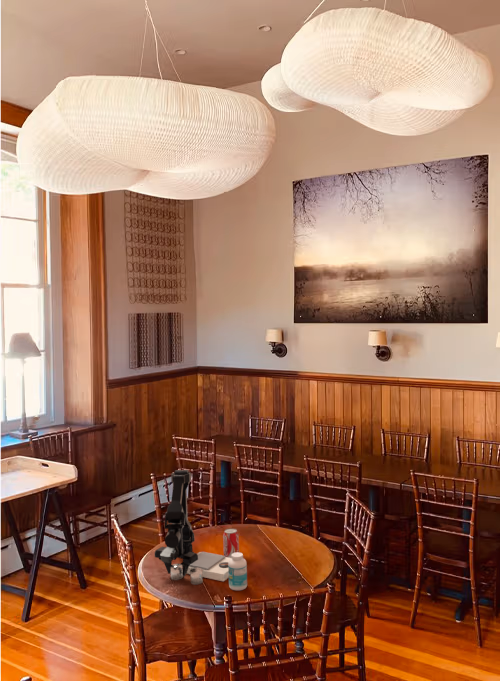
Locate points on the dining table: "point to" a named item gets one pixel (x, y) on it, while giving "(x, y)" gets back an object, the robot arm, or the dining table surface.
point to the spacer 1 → (176, 572)
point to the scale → (212, 566)
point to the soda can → (230, 542)
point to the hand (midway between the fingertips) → (176, 575)
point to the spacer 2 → (196, 576)
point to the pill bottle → (237, 572)
